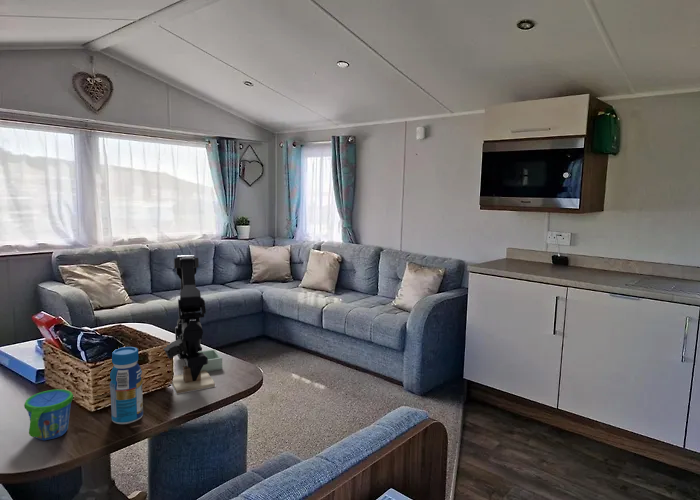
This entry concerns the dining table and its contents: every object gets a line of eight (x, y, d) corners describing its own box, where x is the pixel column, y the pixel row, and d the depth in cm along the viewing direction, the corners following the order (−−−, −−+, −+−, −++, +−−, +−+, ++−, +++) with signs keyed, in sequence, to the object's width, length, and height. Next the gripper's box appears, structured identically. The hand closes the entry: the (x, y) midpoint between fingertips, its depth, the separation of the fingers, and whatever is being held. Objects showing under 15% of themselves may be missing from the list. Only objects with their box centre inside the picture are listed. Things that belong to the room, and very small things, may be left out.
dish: (187, 365, 173) (187, 353, 173) (215, 360, 178) (214, 349, 178) (193, 375, 165) (193, 362, 164) (222, 370, 170) (222, 358, 169)
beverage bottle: (104, 420, 133) (101, 352, 130) (130, 408, 140) (128, 343, 137) (124, 428, 129) (121, 358, 126) (150, 415, 136) (148, 348, 133)
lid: (170, 379, 160) (169, 363, 159) (206, 372, 166) (205, 357, 165) (176, 393, 150) (176, 376, 149) (215, 386, 156) (214, 370, 155)
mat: (168, 380, 160) (168, 378, 160) (207, 373, 167) (207, 372, 167) (175, 395, 149) (175, 394, 149) (216, 387, 156) (216, 386, 156)
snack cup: (52, 451, 117) (50, 412, 116) (10, 449, 118) (7, 411, 116) (87, 419, 133) (86, 385, 131) (50, 418, 133) (48, 384, 132)
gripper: (160, 327, 159) (161, 371, 162) (170, 344, 143) (171, 393, 146) (194, 323, 165) (195, 365, 167) (207, 339, 149) (208, 386, 151)
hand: (192, 377), depth 158 cm, fingers open, 6 cm apart
